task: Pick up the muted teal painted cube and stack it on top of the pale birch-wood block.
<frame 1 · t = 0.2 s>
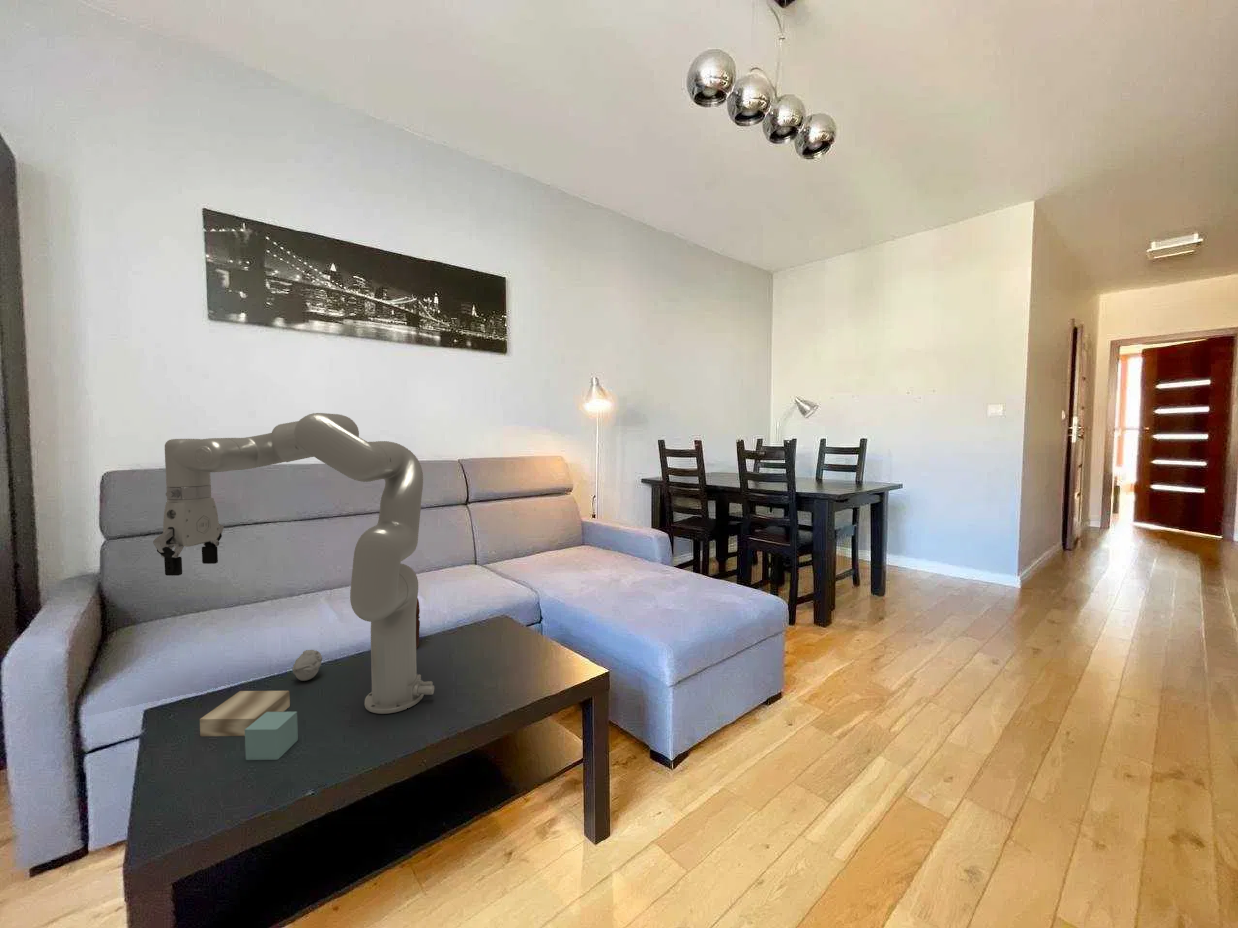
hand: (192, 568, 111), 31 cm above the table, tool pointing down, fingers open, 9 cm apart
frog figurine: (307, 679, 124), on the table
wooden figurine: (404, 645, 144), on the table
teal cube: (272, 749, 96), on the table
birch block: (247, 722, 106), on the table
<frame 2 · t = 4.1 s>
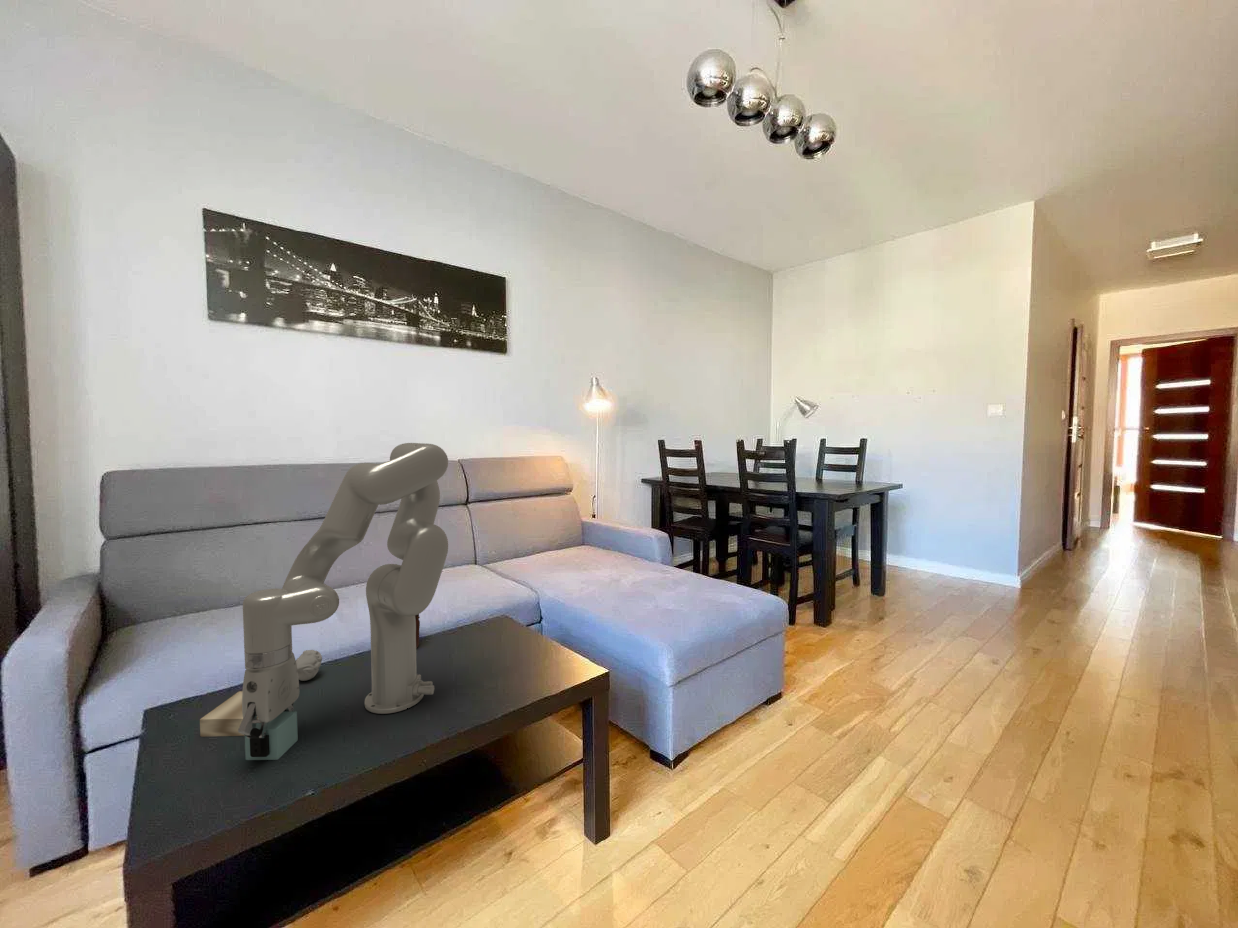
hand: (272, 743, 96), 1 cm above the table, tool pointing down, fingers closed on teal cube, 6 cm apart
teal cube: (272, 749, 96), on the table, touching gripper
everything else where it was.
when the fingers open (7 cm above the table, at t = 10.7 s): teal cube drops 2 cm, point 4 cm above the table.
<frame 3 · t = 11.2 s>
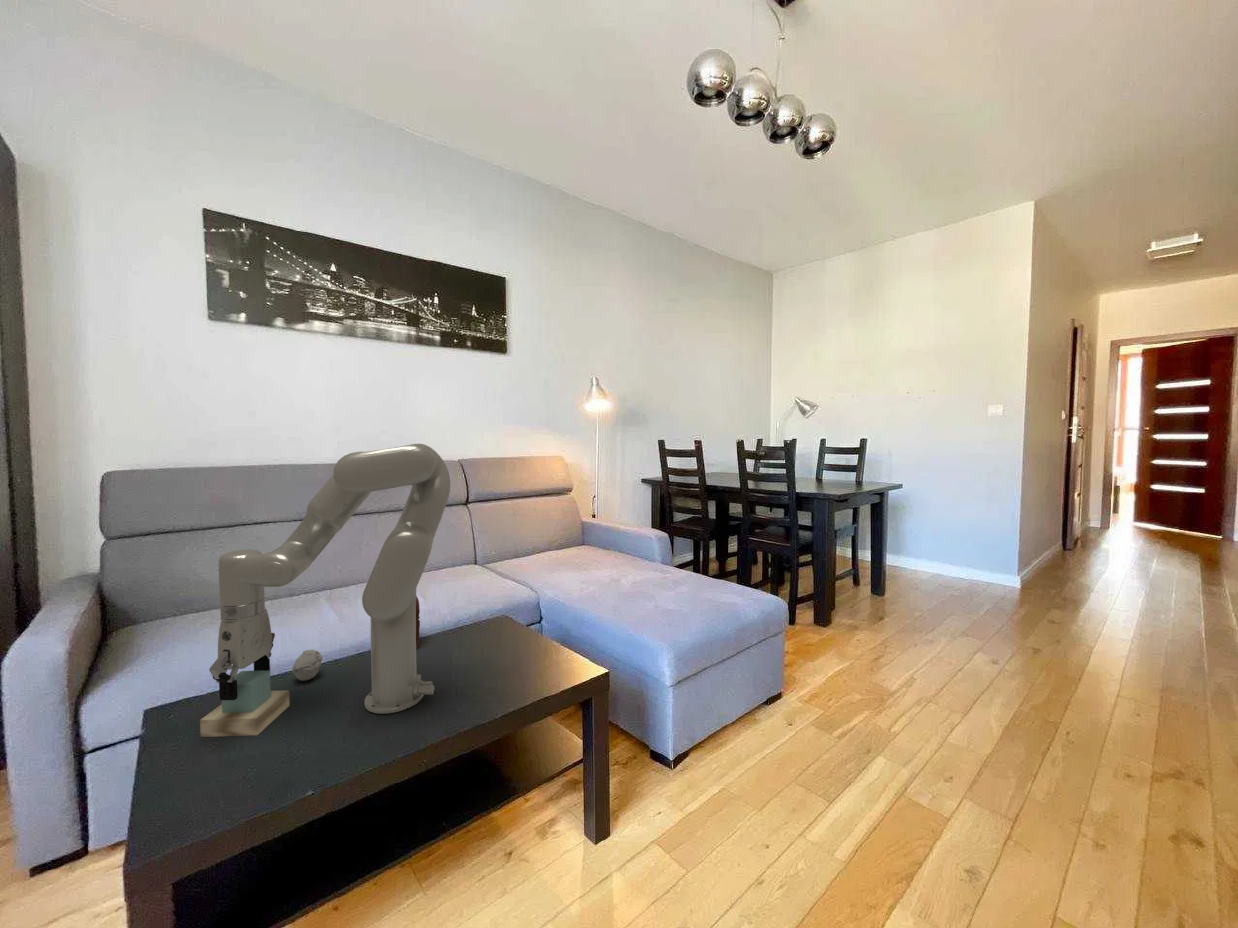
hand: (246, 687, 106), 7 cm above the table, tool pointing down, fingers open, 9 cm apart
teal cube: (247, 704, 106), point 4 cm above the table
everything else where it was.
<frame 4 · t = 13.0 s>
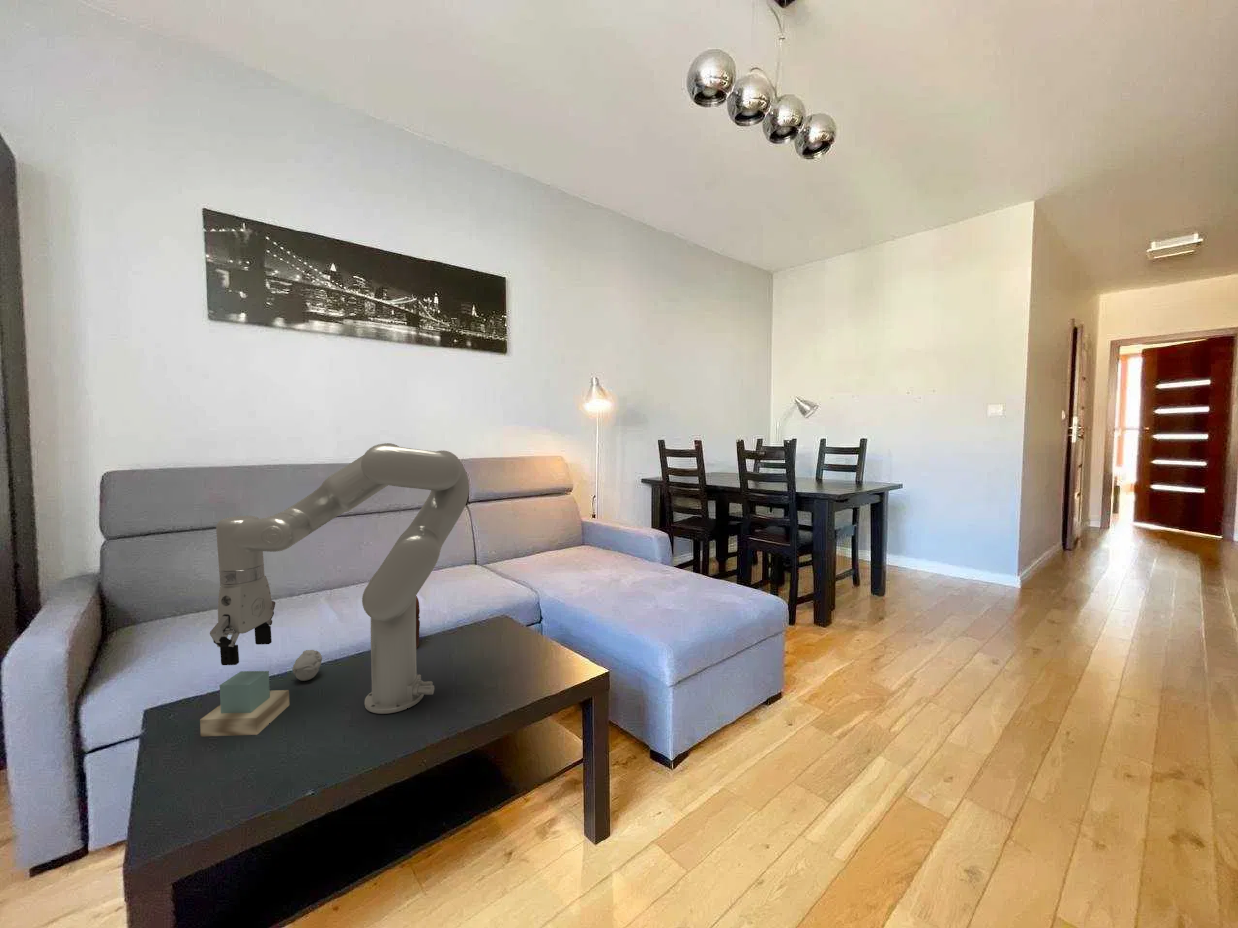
hand: (247, 653, 105), 15 cm above the table, tool pointing down, fingers open, 9 cm apart
teal cube: (246, 704, 106), point 3 cm above the table, touching birch block
birch block: (247, 721, 106), on the table, touching teal cube
everything else where it was.
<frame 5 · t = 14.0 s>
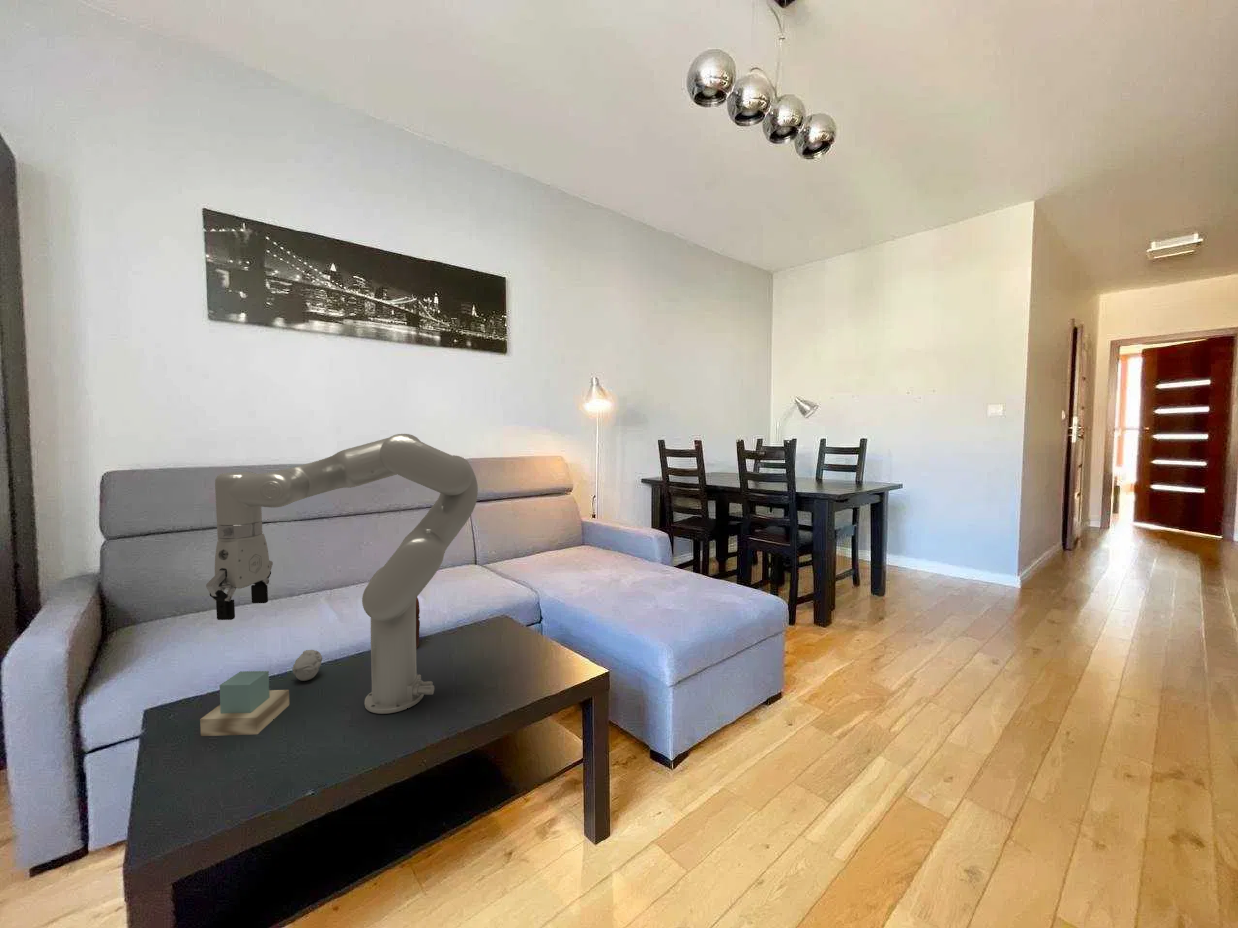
hand: (243, 610, 105), 24 cm above the table, tool pointing down, fingers open, 9 cm apart
nothing on the table moved.
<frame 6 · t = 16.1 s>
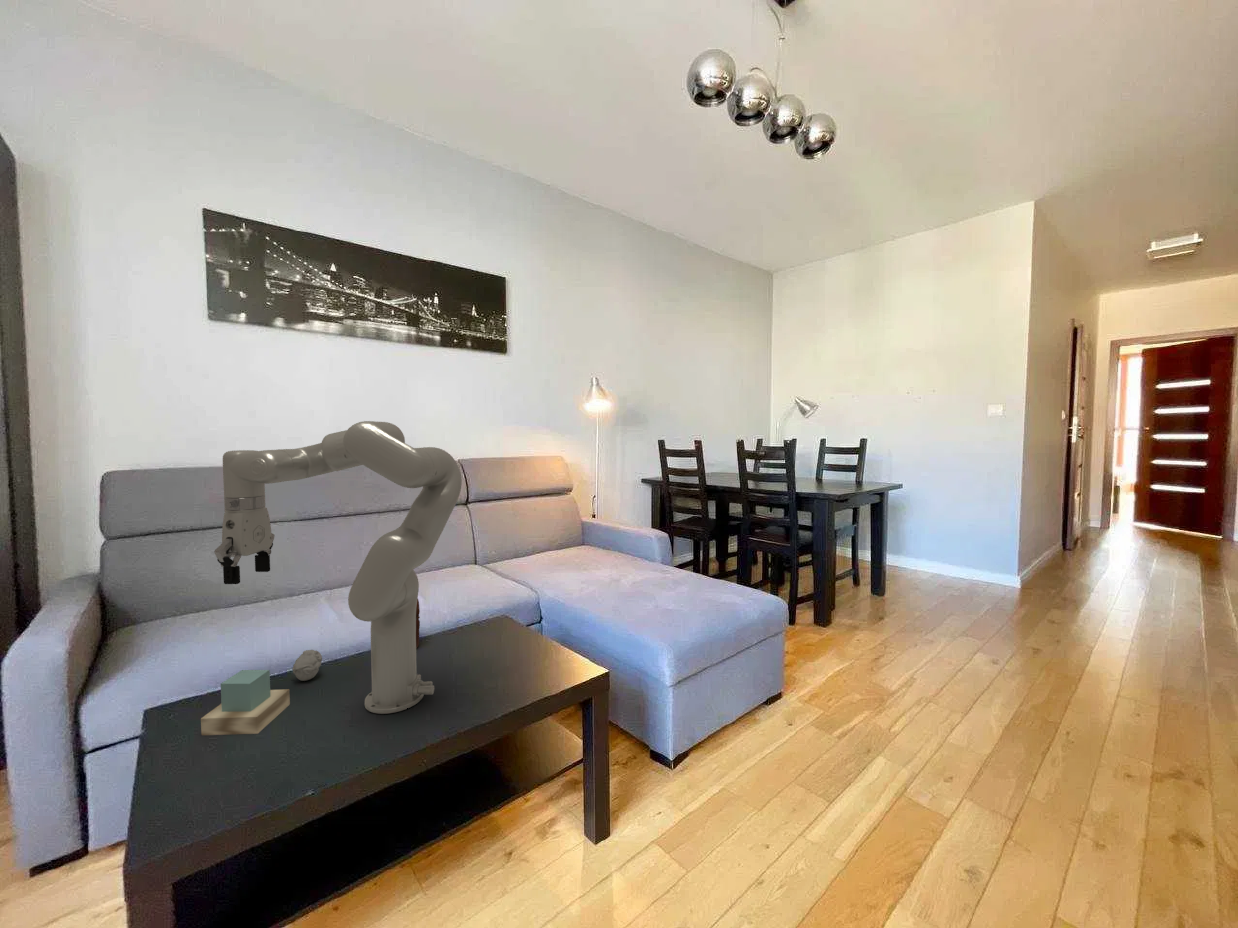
hand: (248, 577, 114), 28 cm above the table, tool pointing down, fingers open, 9 cm apart
nothing on the table moved.
at the end: teal cube inside the target area on the birch block (0.2 cm from its centre), point 4.0 cm above the birch block's base; the gripper is holding nothing; teal cube tilted 0° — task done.
